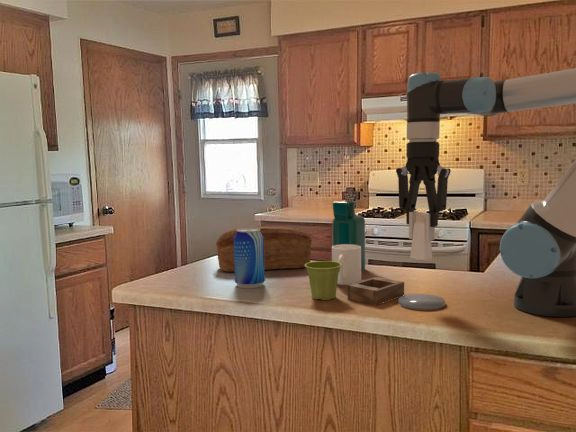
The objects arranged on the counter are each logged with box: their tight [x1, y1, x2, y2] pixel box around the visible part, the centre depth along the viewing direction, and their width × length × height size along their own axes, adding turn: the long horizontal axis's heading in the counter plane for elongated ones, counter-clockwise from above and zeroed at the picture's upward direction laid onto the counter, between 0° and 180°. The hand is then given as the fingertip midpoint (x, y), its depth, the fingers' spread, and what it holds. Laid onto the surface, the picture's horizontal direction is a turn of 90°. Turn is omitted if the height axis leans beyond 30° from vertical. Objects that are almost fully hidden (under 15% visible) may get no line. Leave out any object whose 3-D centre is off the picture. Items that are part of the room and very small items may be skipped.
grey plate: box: [398, 293, 446, 311], centre depth 133 cm, size 11×11×1 cm
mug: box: [331, 244, 362, 286], centre depth 155 cm, size 12×8×10 cm
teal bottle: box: [332, 200, 366, 272], centre depth 171 cm, size 10×8×22 cm
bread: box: [215, 225, 312, 273], centre depth 178 cm, size 12×31×14 cm, turn 100°
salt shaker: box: [409, 211, 433, 261], centre depth 132 cm, size 5×5×11 cm
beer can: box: [234, 227, 266, 290], centre depth 154 cm, size 8×8×16 cm
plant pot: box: [304, 260, 342, 301], centre depth 141 cm, size 9×9×9 cm
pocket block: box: [347, 276, 405, 306], centre depth 140 cm, size 9×12×4 cm
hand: (421, 239), depth 132 cm, fingers closed on salt shaker, 4 cm apart
